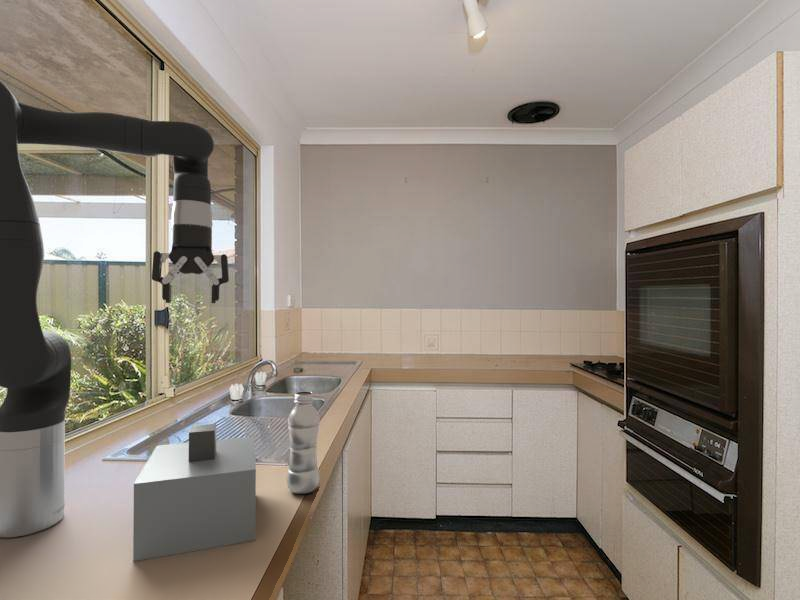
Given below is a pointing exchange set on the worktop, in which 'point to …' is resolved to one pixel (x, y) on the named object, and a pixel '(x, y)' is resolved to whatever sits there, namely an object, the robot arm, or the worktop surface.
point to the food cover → (195, 495)
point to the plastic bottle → (303, 445)
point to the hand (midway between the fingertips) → (191, 303)
